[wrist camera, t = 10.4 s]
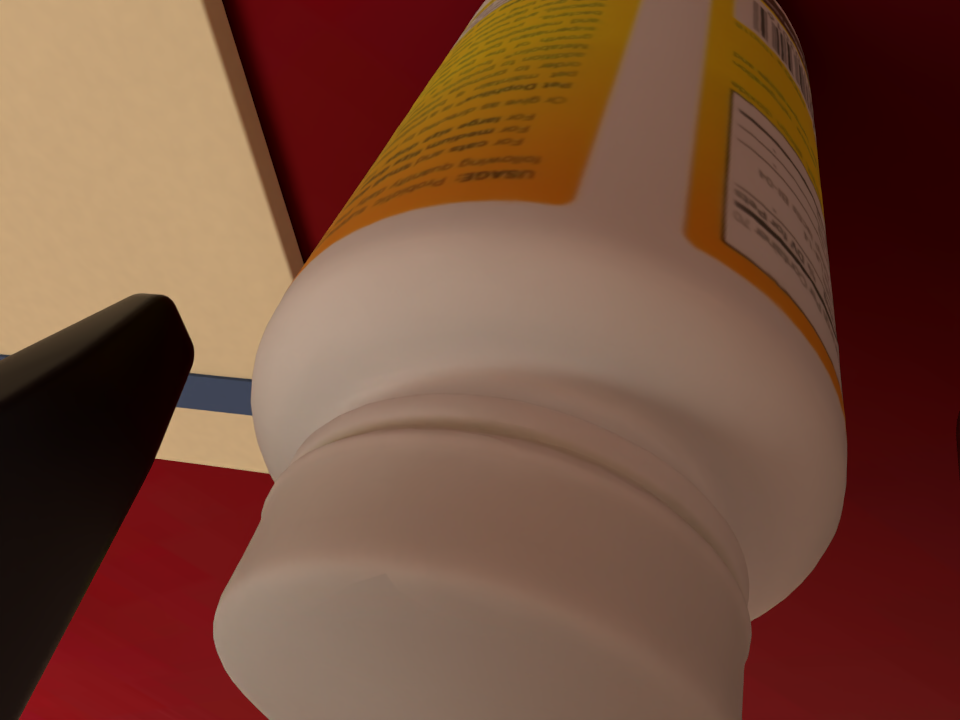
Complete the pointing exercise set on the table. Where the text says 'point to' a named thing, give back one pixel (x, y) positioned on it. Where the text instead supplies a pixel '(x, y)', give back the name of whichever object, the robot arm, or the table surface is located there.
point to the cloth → (142, 195)
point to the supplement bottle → (553, 384)
